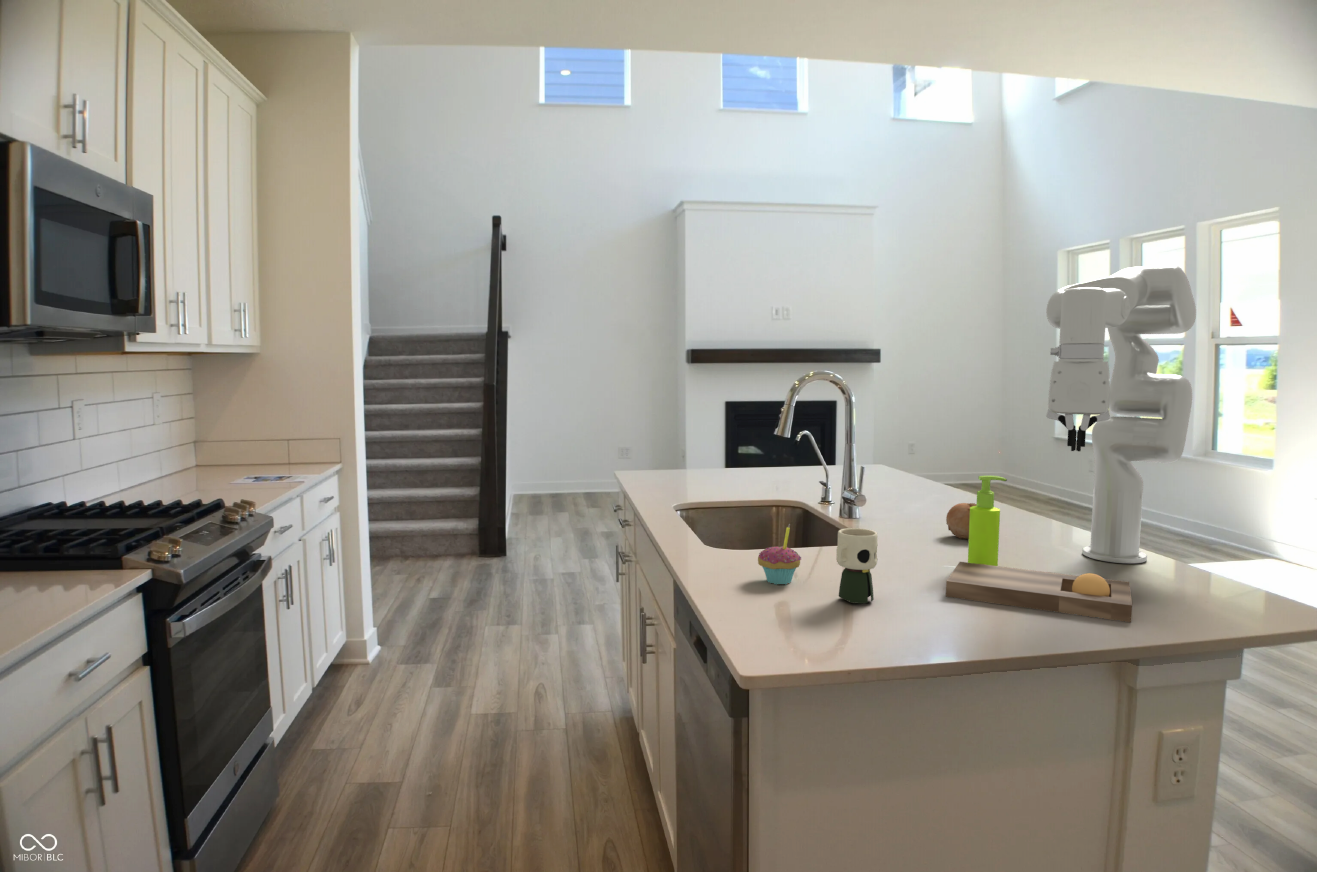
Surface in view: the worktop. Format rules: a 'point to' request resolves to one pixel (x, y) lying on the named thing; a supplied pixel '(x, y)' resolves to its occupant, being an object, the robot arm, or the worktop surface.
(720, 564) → the worktop surface
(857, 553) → the character mug
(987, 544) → the soap dispenser
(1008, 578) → the board
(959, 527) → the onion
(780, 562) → the cupcake
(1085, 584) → the ball
